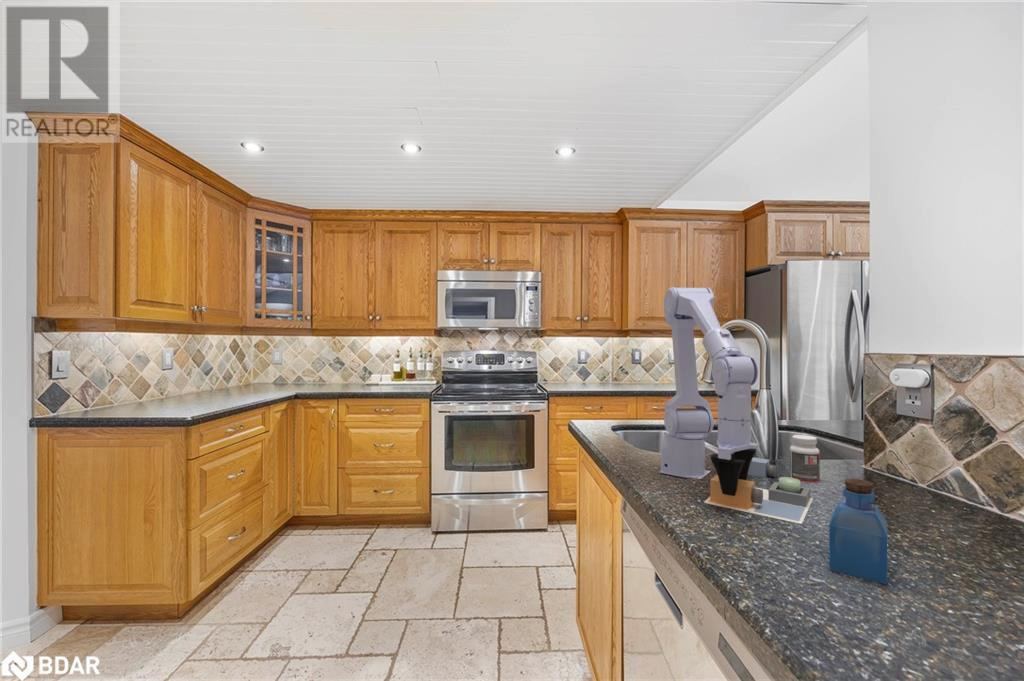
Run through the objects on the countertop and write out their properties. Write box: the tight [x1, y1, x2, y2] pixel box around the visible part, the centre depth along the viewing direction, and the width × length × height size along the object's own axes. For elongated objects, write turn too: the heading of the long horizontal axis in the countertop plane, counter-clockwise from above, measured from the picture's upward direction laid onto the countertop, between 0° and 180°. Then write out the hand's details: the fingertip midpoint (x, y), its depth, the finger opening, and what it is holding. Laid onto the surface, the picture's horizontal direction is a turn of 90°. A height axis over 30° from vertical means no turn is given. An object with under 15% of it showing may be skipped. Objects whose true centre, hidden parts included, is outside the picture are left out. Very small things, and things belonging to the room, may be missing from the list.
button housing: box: [767, 481, 811, 507], centre depth 89 cm, size 6×6×2 cm
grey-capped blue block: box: [748, 457, 777, 479], centre depth 106 cm, size 8×4×4 cm, turn 50°
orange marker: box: [709, 474, 763, 509], centre depth 87 cm, size 8×4×4 cm, turn 51°
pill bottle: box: [789, 434, 821, 484], centre depth 102 cm, size 6×6×10 cm
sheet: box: [703, 487, 814, 525], centre depth 88 cm, size 16×16×1 cm
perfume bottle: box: [828, 478, 888, 586], centre depth 63 cm, size 6×6×12 cm
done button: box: [778, 476, 801, 493], centre depth 89 cm, size 4×4×2 cm
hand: (734, 489), depth 87 cm, fingers open, 7 cm apart
